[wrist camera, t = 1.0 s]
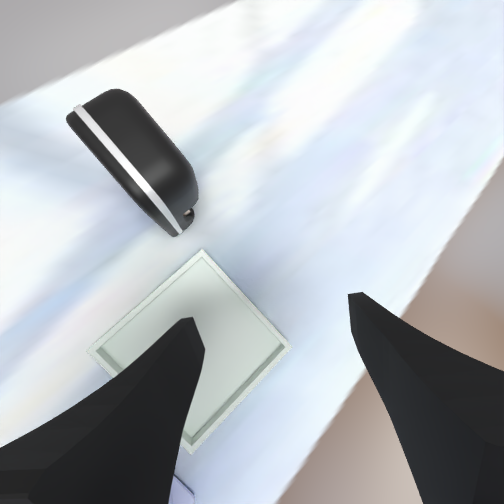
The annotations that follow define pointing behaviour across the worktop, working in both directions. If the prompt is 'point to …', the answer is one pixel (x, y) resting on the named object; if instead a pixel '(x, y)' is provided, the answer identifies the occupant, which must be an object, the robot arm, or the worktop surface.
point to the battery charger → (138, 157)
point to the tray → (213, 337)
